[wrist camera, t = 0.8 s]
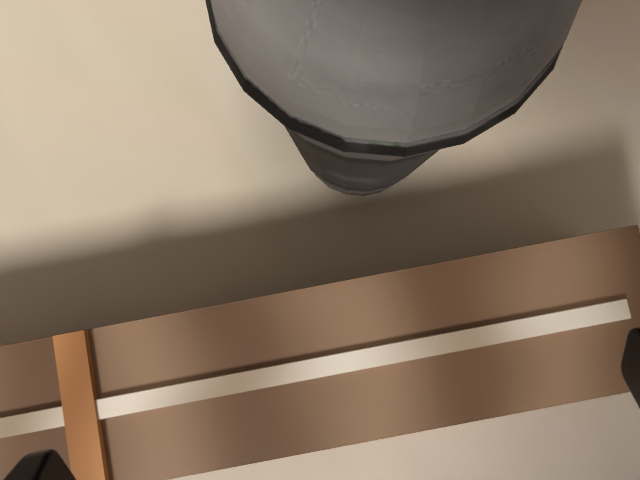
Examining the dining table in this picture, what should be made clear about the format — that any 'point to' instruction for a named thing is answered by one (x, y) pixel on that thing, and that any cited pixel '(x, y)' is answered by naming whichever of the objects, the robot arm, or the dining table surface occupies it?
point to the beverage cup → (387, 74)
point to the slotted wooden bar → (328, 363)
